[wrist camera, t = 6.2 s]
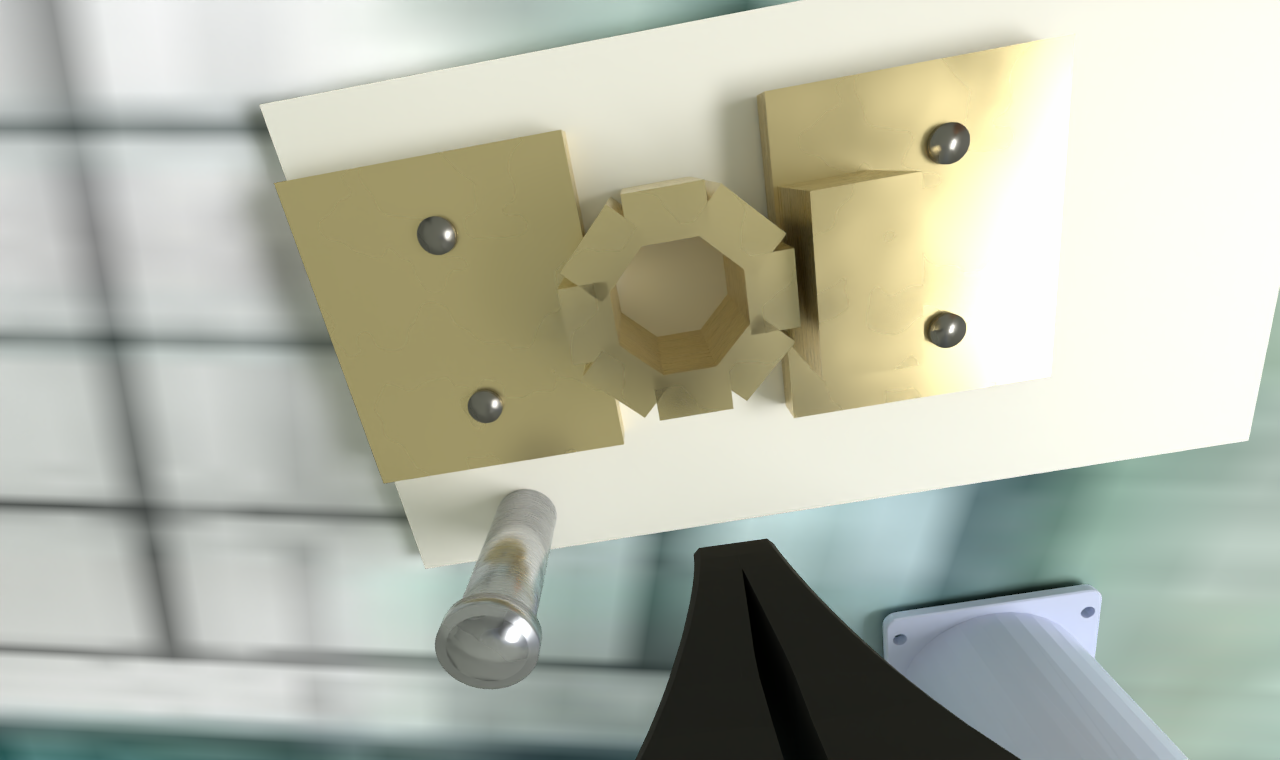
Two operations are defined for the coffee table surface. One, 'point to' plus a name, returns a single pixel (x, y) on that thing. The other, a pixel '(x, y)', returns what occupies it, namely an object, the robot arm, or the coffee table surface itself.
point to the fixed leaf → (524, 303)
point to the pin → (501, 598)
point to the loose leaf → (921, 223)
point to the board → (731, 154)
